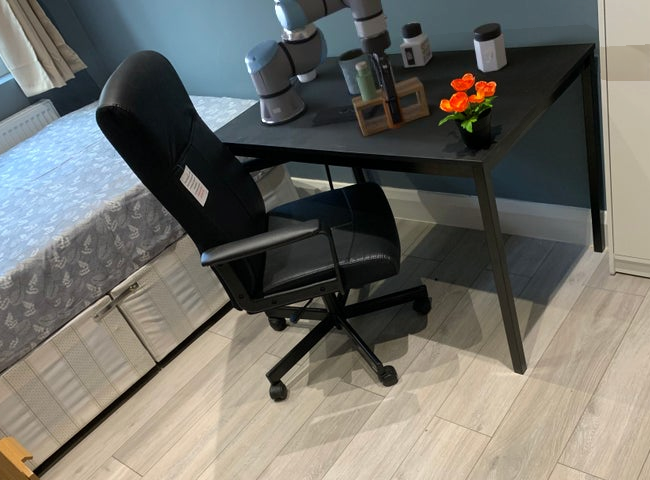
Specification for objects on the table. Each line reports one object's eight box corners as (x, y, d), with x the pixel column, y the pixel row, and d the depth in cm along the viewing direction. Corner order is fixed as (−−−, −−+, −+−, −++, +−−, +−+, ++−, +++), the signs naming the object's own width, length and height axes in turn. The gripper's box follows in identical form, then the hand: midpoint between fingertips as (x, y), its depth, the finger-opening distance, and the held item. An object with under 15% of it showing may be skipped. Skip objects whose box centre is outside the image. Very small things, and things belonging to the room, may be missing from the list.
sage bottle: (361, 97, 183) (352, 64, 177) (376, 92, 183) (366, 58, 177) (364, 102, 180) (354, 68, 174) (378, 97, 179) (369, 63, 173)
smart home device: (370, 111, 192) (311, 121, 199) (371, 117, 193) (312, 126, 200) (376, 100, 198) (318, 109, 205) (377, 105, 199) (320, 114, 206)
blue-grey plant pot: (372, 79, 218) (363, 45, 211) (379, 88, 210) (370, 52, 203) (345, 89, 218) (335, 55, 211) (350, 98, 210) (340, 63, 203)
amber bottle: (387, 124, 175) (376, 83, 168) (403, 119, 175) (392, 77, 168) (390, 130, 171) (379, 88, 164) (406, 125, 171) (396, 82, 164)
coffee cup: (296, 77, 243) (285, 46, 236) (323, 70, 241) (313, 38, 234) (292, 87, 235) (281, 56, 227) (320, 80, 232) (310, 48, 225)
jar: (476, 74, 197) (470, 35, 190) (480, 63, 203) (474, 26, 195) (505, 69, 193) (500, 30, 186) (508, 59, 199) (503, 20, 192)
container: (424, 65, 215) (416, 27, 207) (404, 67, 219) (395, 30, 211) (432, 56, 220) (425, 18, 212) (412, 58, 223) (404, 21, 216)
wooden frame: (359, 126, 190) (351, 98, 185) (422, 105, 190) (416, 76, 184) (364, 136, 184) (355, 107, 178) (429, 114, 183) (422, 85, 178)
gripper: (394, 37, 151) (416, 126, 165) (380, 20, 165) (401, 104, 179) (365, 47, 151) (389, 135, 165) (353, 30, 165) (376, 112, 179)
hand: (395, 119), depth 172 cm, fingers closed on amber bottle, 5 cm apart
